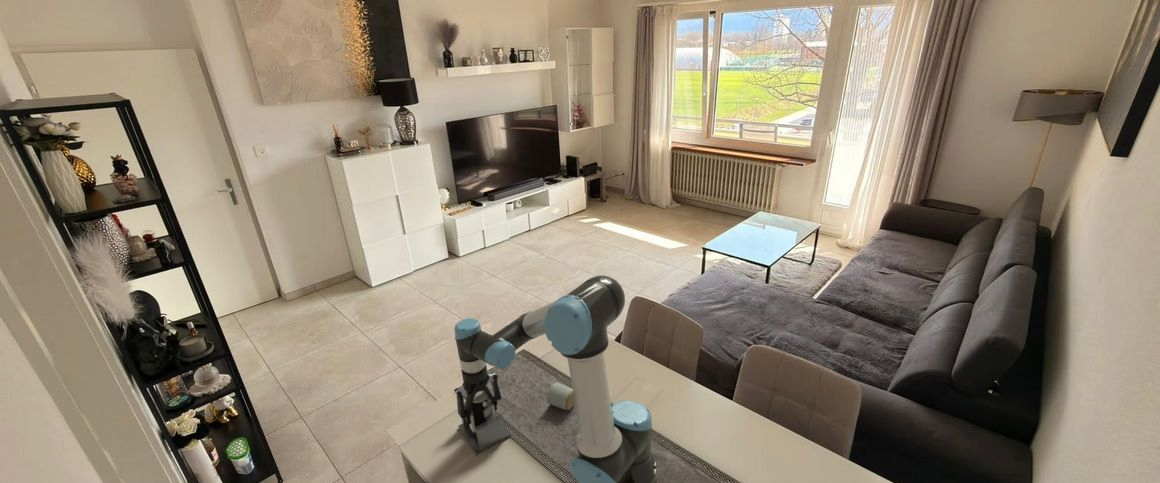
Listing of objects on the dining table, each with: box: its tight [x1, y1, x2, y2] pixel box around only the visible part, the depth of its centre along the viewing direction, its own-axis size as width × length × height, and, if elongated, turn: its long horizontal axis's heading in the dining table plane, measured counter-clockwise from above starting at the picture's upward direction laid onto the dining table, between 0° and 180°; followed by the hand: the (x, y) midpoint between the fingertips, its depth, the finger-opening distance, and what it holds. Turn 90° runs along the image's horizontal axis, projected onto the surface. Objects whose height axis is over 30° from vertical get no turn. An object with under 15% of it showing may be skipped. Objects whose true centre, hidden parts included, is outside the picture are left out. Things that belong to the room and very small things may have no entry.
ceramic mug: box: [546, 382, 576, 411], centre depth 165 cm, size 11×8×8 cm
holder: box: [457, 401, 512, 456], centre depth 154 cm, size 14×12×9 cm
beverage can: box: [471, 390, 493, 427], centre depth 152 cm, size 7×7×12 cm
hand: (483, 424), depth 154 cm, fingers closed on beverage can, 6 cm apart
